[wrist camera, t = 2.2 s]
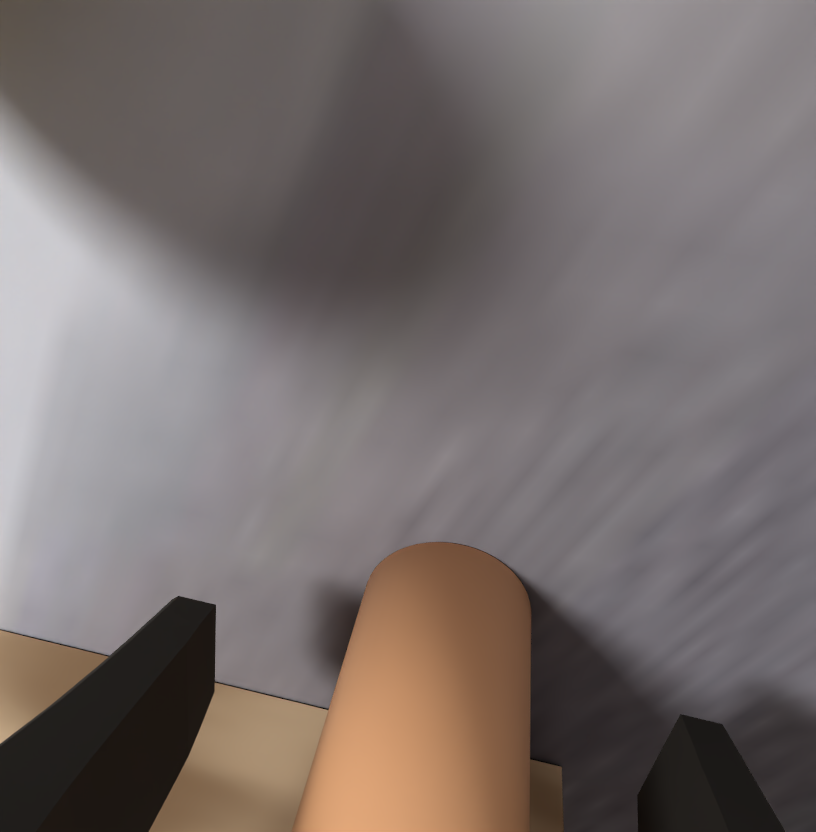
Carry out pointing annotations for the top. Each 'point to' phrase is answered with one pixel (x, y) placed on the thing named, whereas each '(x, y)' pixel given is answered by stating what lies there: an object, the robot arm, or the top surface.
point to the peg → (429, 702)
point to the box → (220, 747)
